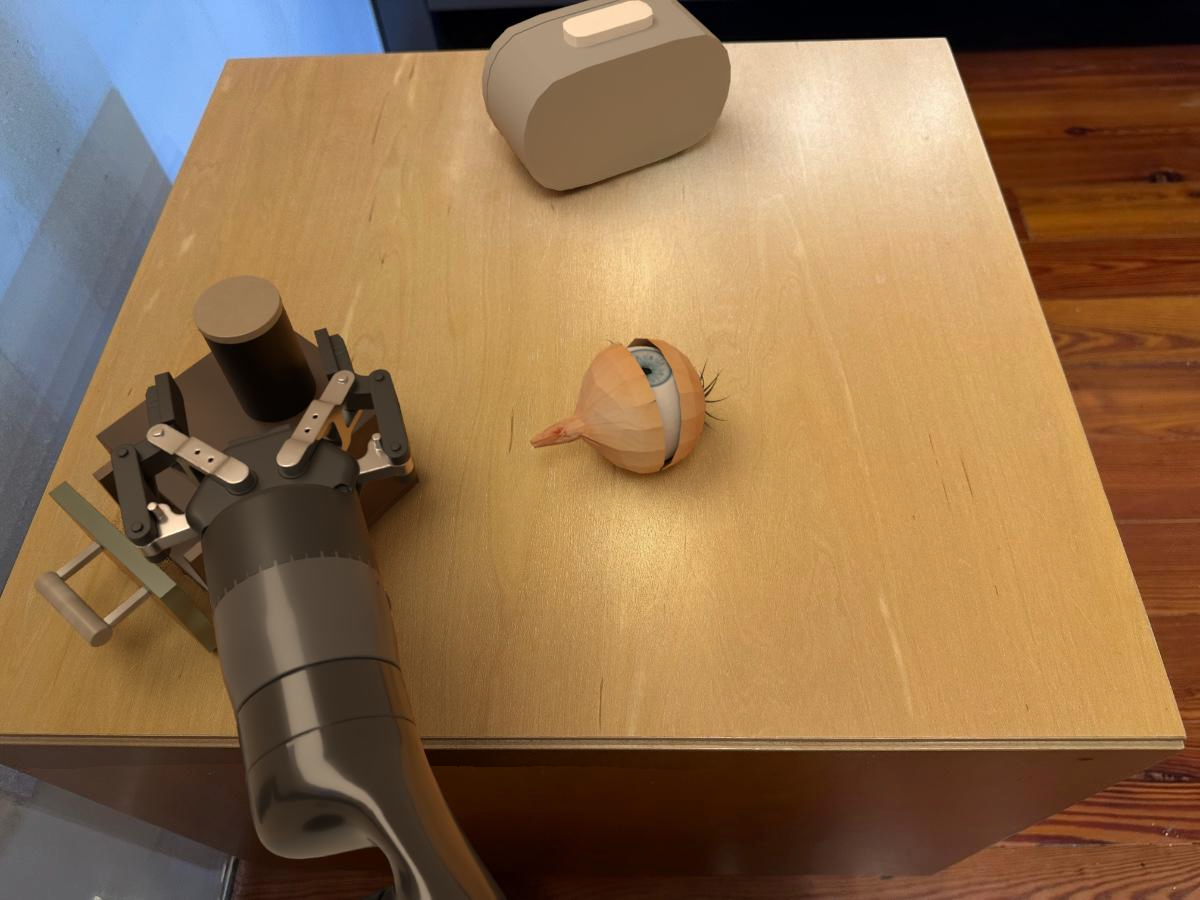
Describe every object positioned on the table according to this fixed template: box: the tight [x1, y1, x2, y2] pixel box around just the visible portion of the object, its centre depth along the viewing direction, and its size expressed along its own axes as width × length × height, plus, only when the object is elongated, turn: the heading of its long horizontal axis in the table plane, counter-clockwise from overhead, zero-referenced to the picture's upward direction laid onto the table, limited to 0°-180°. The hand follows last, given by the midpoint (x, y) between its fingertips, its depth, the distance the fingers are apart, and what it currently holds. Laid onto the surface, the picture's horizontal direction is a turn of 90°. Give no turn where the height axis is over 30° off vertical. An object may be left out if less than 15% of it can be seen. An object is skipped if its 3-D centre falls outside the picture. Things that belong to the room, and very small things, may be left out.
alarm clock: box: [481, 0, 732, 192], centre depth 83 cm, size 21×10×13 cm, turn 117°
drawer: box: [33, 459, 217, 654], centre depth 59 cm, size 17×11×8 cm
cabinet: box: [95, 330, 420, 530], centre depth 62 cm, size 14×13×10 cm
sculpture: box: [529, 337, 732, 475], centre depth 64 cm, size 9×9×15 cm
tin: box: [192, 274, 316, 422], centre depth 56 cm, size 5×5×8 cm
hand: (247, 360), depth 51 cm, fingers open, 8 cm apart
